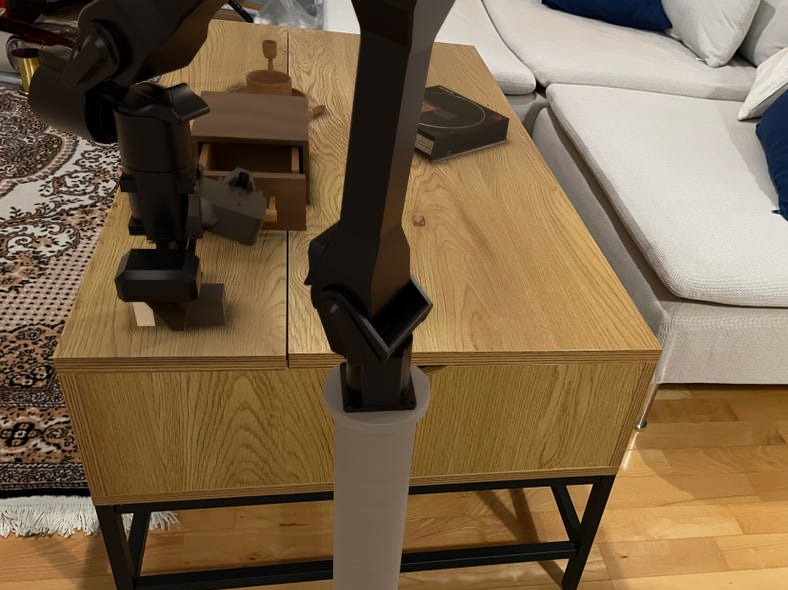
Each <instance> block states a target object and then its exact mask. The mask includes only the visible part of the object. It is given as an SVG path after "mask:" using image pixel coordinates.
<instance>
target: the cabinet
mask: <svg viewBox="0 0 788 590" xmlns="http://www.w3.org/2000/svg"><path fill="white" fill-rule="evenodd" d="M199 96H200V97H201V98H202V99H203V100H204V101H205V102H206V103H207V104H208V105H209V107H210V112H209V113H208V114H205V115H203V116H200V117H198V118H195V119H193V120H192V126H191V128H190V129H191V137H192V144H193V152H194V159H198V162H199V160H200V155H201V151H202V146H203V142H223V143H245V144H267V145H289V146H298V152H299V174H305V185H306V205H310V204H311V177H310V176H311V173H310V171H311V169H310V167H311V165H310V164H311V163H310V133H309V132H310V131H309V120H308V116H309V113H308V105H307V97H308V96H307V97H298V96H281V95H265V94H249V93H233V92H232V91H231V92H226V91H214V90H201V91H200V95H199Z"/></svg>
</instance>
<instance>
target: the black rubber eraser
mask: <svg viewBox="0 0 788 590" xmlns="http://www.w3.org/2000/svg"><path fill="white" fill-rule="evenodd" d="M132 306H133V311H134V316H135V320H136V324H137V327H168V326H167V325H166V324H165V323H164V322H163V321H162V320H161V319H160V318H159V317H158V316H157V315H156V314H155V312H154V311H153V310H152V309H151V308H150V307H149V306H148V305H147V304H146V303H145V302H132ZM227 310H228V304H227V294H226V286H225V283H224V282H222V283H221V282H220V283H218V282H214V283H213V282H211V283H210V282H206V283H205V282H201V287H200V293H199V298H198V299H196V300H194V301H192V302H187V303H186V316H185V326H225V325H226V321H227Z"/></svg>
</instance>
